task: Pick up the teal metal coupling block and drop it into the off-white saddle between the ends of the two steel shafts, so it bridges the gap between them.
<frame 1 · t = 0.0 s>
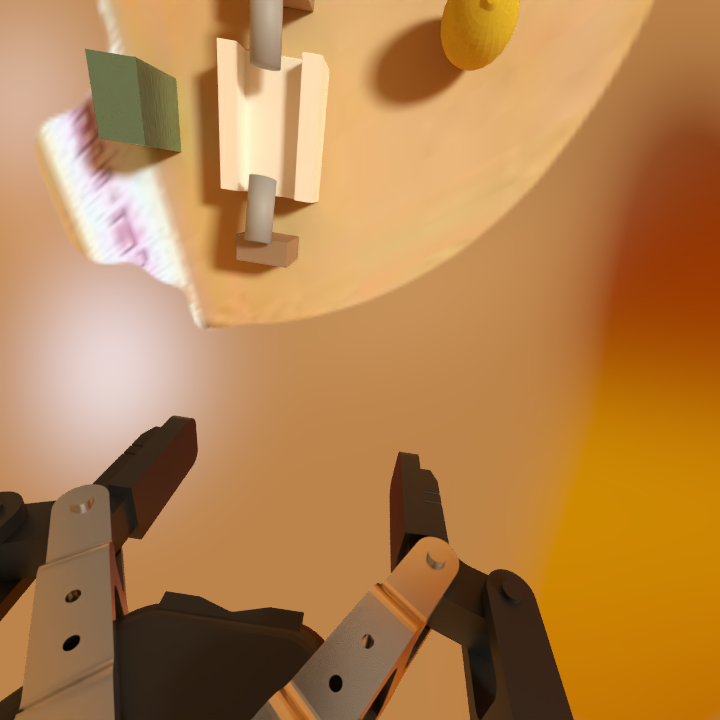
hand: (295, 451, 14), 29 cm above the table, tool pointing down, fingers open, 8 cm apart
shaft rig: (279, 133, 34), on the table
coupler: (158, 113, 34), on the table
lemon: (466, 42, 31), on the table
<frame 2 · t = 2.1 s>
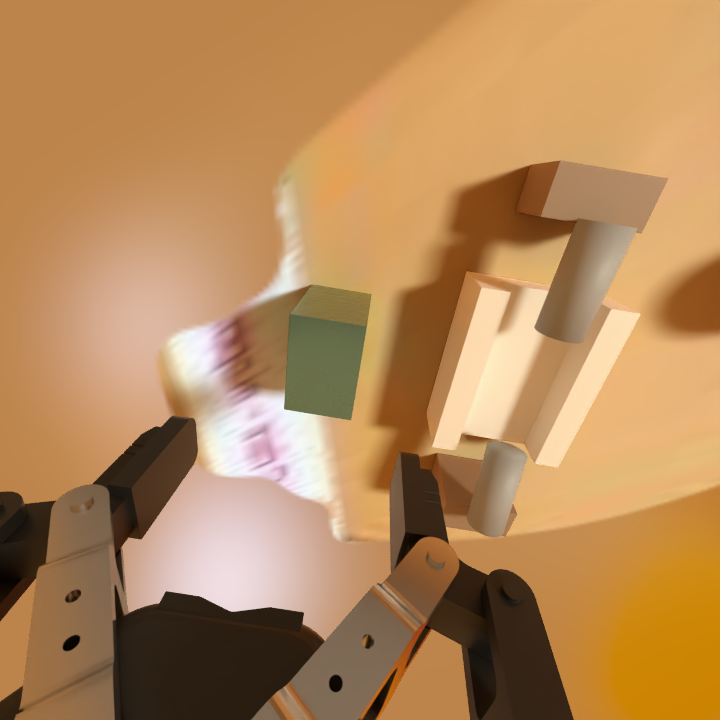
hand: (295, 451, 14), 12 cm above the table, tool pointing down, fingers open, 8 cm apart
shaft rig: (504, 358, 25), on the table
coupler: (336, 330, 25), on the table
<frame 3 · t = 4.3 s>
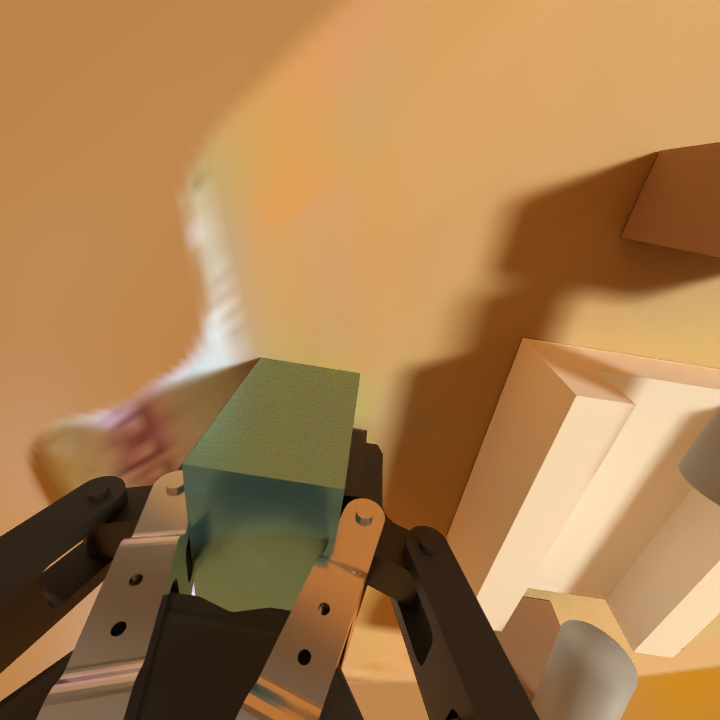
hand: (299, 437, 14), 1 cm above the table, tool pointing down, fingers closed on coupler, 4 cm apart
shaft rig: (575, 468, 15), on the table
coupler: (304, 426, 15), on the table, touching gripper
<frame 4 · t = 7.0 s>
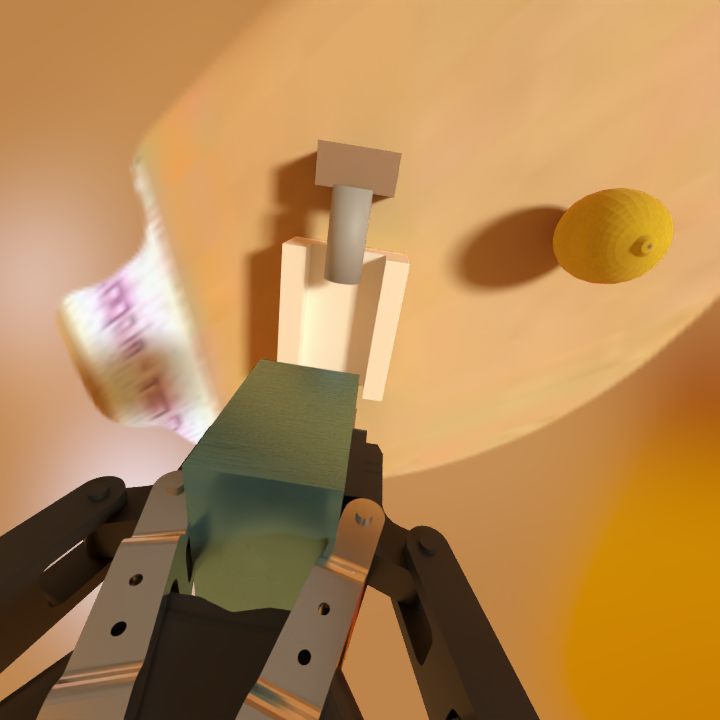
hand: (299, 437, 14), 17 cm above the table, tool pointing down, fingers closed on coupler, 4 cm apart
shaft rig: (342, 312, 29), on the table
coupler: (304, 427, 15), point 16 cm above the table, touching gripper
lemon: (573, 230, 26), on the table
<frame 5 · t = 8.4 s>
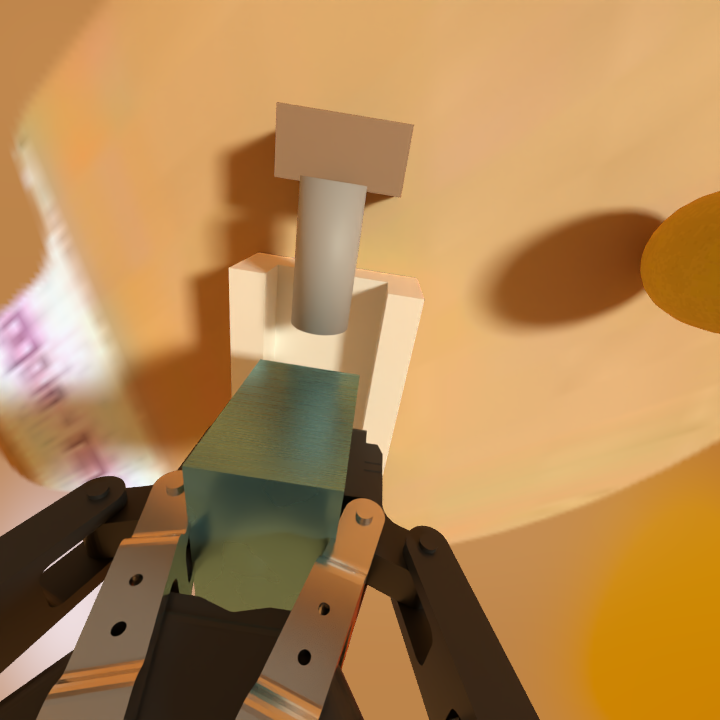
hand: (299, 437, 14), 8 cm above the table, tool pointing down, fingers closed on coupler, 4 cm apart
shaft rig: (327, 356, 21), on the table
coupler: (304, 427, 15), point 7 cm above the table, touching gripper
lemon: (662, 245, 18), on the table
when the fingers open (5 cm above the table, at t = 9.8 s): coupler drops 2 cm, resting on shaft rig.
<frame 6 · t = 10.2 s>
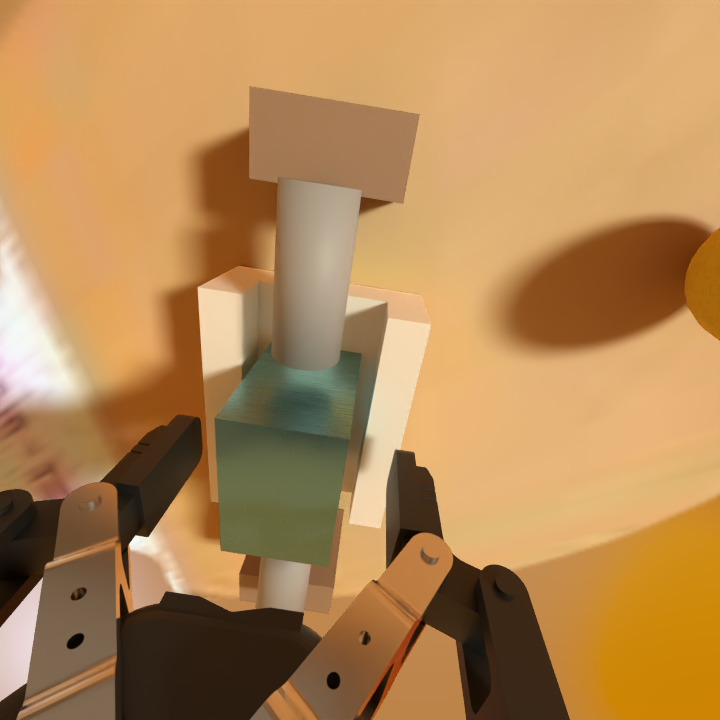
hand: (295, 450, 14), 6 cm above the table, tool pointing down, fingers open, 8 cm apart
shaft rig: (319, 381, 19), on the table
coupler: (311, 402, 17), point 2 cm above the table, touching shaft rig
lemon: (706, 258, 15), on the table
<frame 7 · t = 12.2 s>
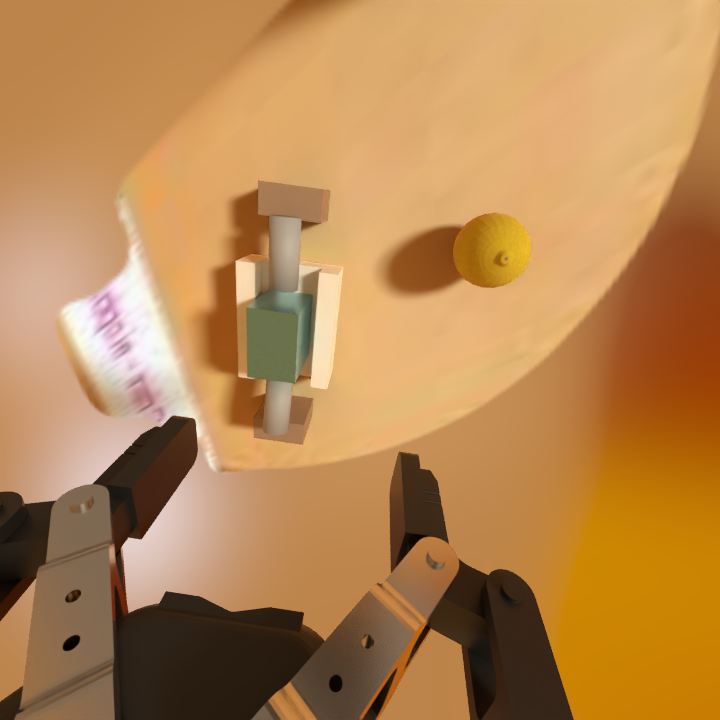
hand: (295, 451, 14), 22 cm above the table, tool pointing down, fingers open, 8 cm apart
shaft rig: (294, 316, 35), on the table
coupler: (289, 322, 33), point 2 cm above the table, touching shaft rig
lemon: (476, 244, 31), on the table
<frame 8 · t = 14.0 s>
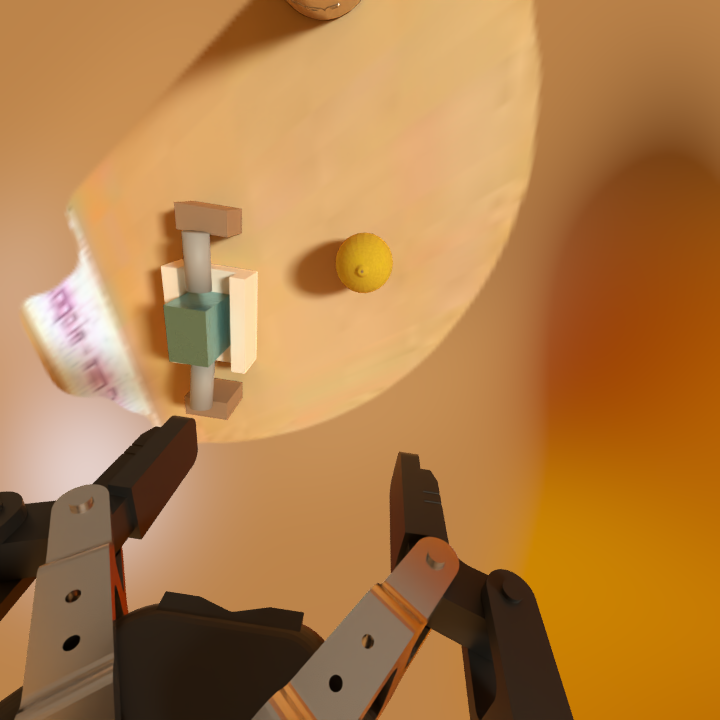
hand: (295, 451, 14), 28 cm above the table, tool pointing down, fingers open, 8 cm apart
shaft rig: (221, 311, 41), on the table
coupler: (213, 317, 40), point 2 cm above the table, touching shaft rig
lemon: (366, 255, 38), on the table
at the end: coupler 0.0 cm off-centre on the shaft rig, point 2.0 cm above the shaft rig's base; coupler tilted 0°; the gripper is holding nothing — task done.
